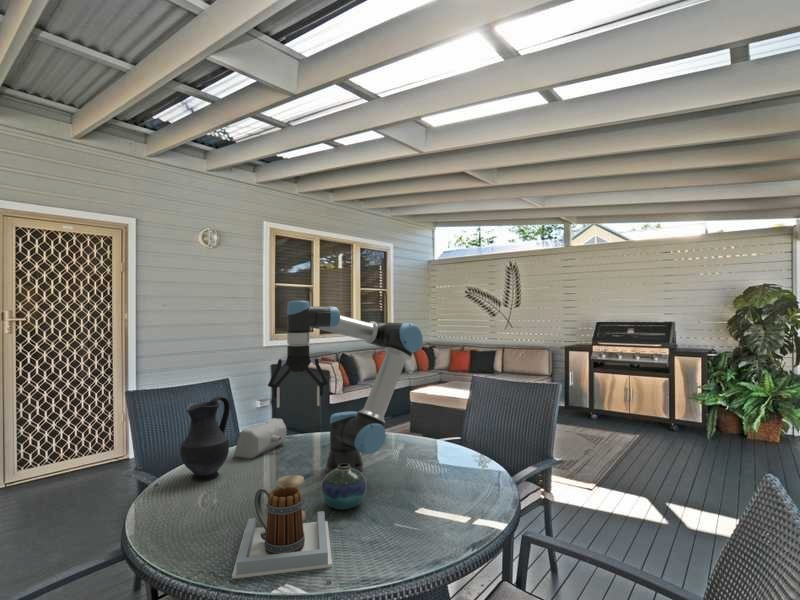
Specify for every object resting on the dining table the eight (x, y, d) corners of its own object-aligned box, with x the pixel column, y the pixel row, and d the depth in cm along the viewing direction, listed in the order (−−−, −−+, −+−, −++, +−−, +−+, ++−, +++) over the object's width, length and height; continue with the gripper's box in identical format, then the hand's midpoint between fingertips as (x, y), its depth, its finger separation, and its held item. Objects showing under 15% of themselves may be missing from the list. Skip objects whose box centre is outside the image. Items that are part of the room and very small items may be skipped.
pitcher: (170, 481, 173) (171, 402, 174) (211, 464, 193) (212, 393, 193) (205, 488, 167) (205, 405, 167) (244, 469, 186) (244, 395, 187)
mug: (312, 543, 125) (312, 488, 126) (286, 562, 116) (287, 502, 116) (269, 531, 133) (269, 479, 133) (241, 548, 123) (242, 492, 123)
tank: (263, 461, 196) (263, 432, 196) (232, 457, 201) (232, 429, 202) (294, 445, 220) (294, 419, 220) (266, 442, 225) (266, 416, 225)
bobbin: (305, 510, 148) (305, 473, 148) (305, 523, 139) (305, 483, 139) (277, 513, 146) (277, 475, 146) (275, 526, 137) (275, 486, 137)
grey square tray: (327, 523, 139) (327, 511, 139) (331, 567, 115) (331, 551, 115) (245, 531, 134) (245, 518, 134) (232, 578, 110) (232, 563, 110)
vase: (329, 519, 141) (329, 476, 142) (314, 501, 155) (314, 462, 155) (374, 509, 148) (374, 468, 149) (356, 492, 162) (356, 455, 162)
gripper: (333, 343, 165) (333, 402, 164) (262, 344, 160) (262, 405, 159) (335, 344, 157) (335, 406, 157) (260, 346, 152) (259, 410, 152)
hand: (298, 406), depth 158 cm, fingers open, 13 cm apart
